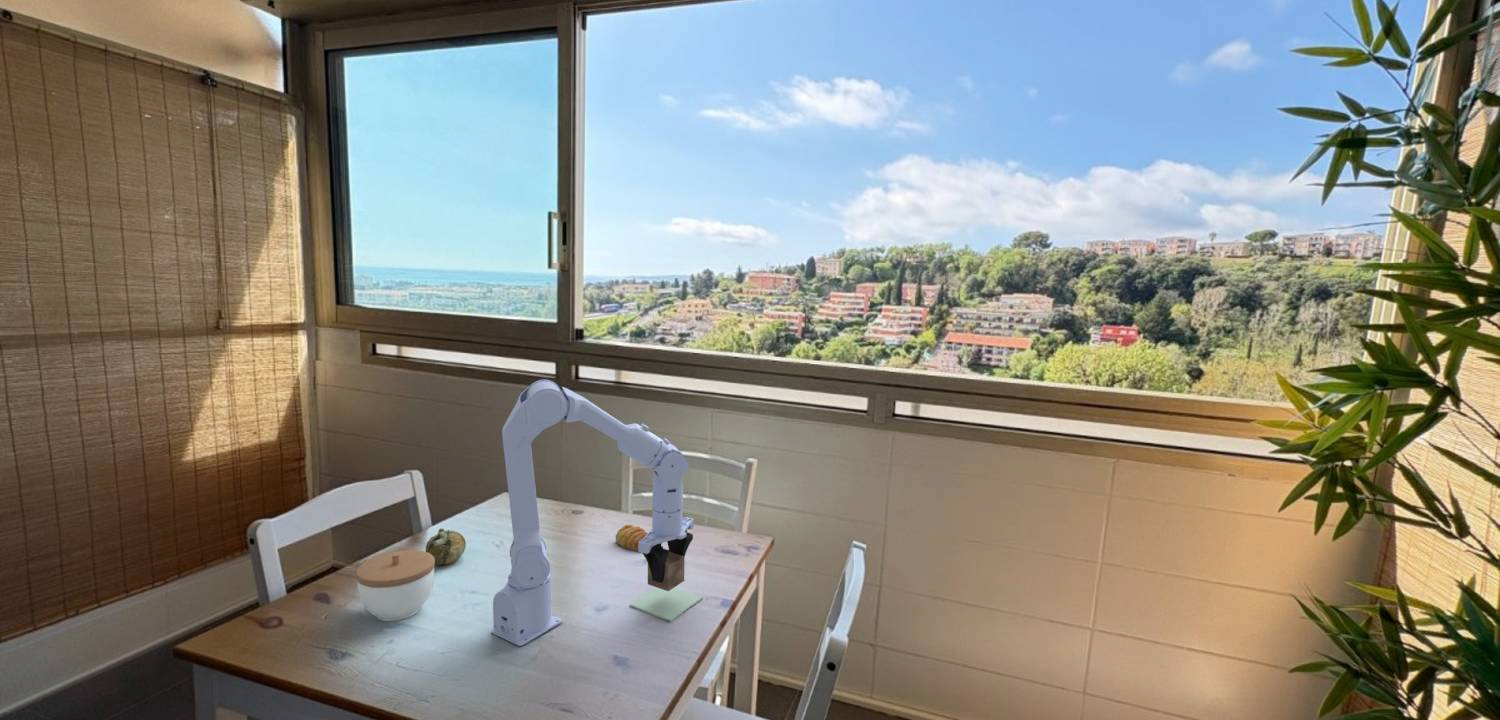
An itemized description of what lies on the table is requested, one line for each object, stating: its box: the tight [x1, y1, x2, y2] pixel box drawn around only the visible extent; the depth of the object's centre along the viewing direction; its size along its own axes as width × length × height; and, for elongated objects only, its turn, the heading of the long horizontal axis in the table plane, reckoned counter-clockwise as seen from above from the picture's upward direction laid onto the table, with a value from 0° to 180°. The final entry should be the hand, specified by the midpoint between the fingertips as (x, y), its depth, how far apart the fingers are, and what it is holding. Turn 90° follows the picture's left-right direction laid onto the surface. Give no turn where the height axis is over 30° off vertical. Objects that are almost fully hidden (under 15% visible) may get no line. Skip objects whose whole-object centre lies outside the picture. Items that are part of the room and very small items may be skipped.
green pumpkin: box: [425, 528, 467, 566], centre depth 138 cm, size 8×8×8 cm
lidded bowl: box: [355, 549, 436, 622], centre depth 117 cm, size 13×13×11 cm
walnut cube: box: [647, 552, 686, 591], centre depth 123 cm, size 5×5×5 cm
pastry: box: [615, 524, 649, 552], centre depth 149 cm, size 9×7×4 cm
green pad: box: [629, 587, 704, 622], centre depth 124 cm, size 10×10×1 cm
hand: (667, 575), depth 123 cm, fingers closed on walnut cube, 5 cm apart
